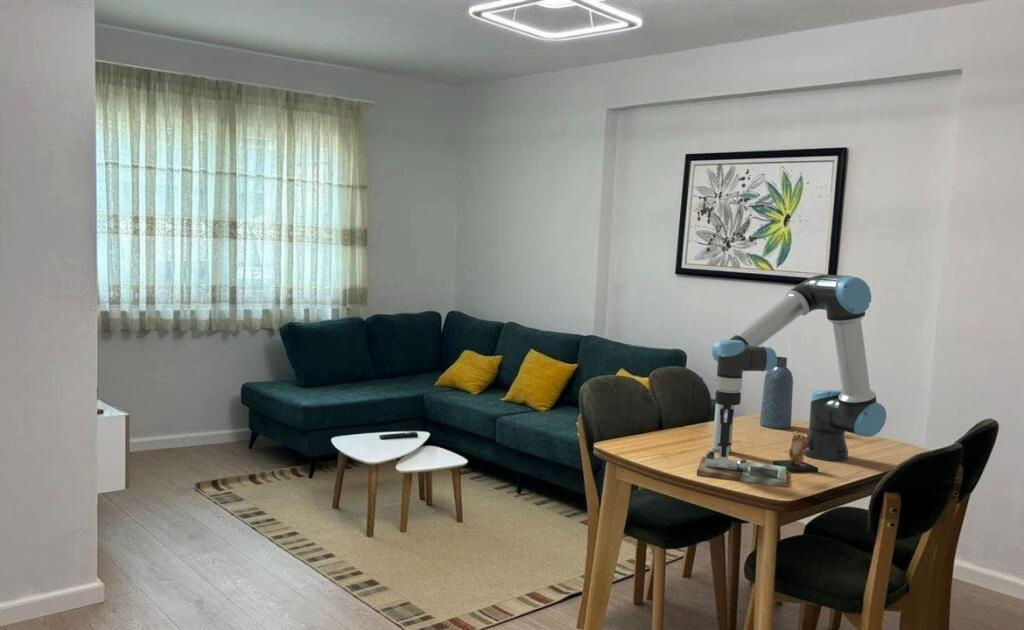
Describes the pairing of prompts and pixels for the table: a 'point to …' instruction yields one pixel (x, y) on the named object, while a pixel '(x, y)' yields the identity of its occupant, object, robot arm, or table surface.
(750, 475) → the door board
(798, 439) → the figurine
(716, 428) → the travel mug
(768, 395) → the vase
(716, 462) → the bar
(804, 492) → the table surface
